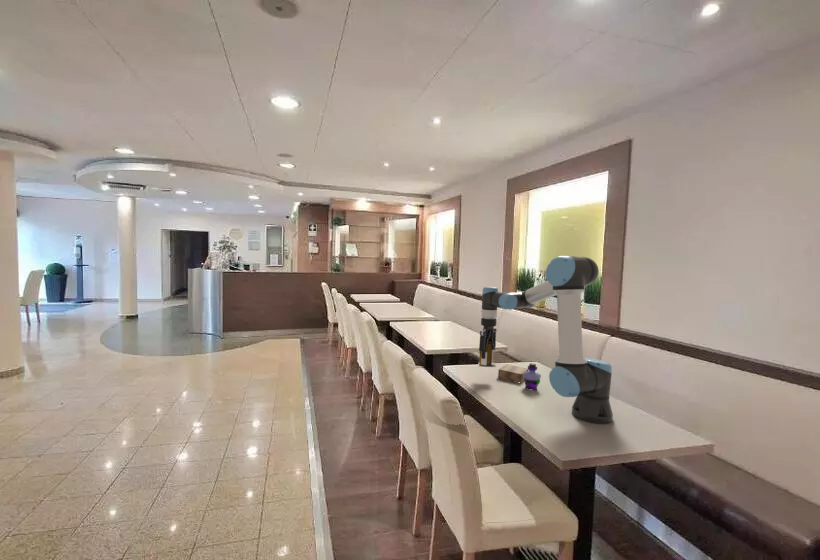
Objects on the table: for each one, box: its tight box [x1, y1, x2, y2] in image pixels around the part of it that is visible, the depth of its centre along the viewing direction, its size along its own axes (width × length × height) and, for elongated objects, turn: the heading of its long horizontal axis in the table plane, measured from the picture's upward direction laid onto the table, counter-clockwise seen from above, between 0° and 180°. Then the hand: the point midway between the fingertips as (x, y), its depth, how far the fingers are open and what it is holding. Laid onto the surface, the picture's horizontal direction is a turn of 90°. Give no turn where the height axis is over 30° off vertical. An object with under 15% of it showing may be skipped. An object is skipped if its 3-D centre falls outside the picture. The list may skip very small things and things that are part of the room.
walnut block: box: [497, 364, 529, 384], centre depth 205 cm, size 12×12×5 cm
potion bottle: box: [523, 362, 542, 390], centre depth 190 cm, size 9×9×12 cm
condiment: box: [478, 341, 497, 368], centre depth 197 cm, size 7×8×12 cm
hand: (486, 363), depth 197 cm, fingers closed on condiment, 6 cm apart
